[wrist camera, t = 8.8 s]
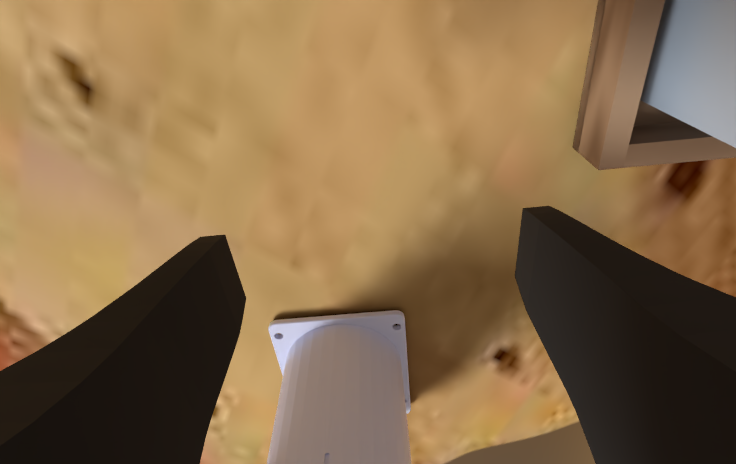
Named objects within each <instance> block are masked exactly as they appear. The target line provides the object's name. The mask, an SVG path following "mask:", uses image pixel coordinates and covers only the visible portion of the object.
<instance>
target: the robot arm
mask: <svg viewBox="0 0 736 464" xmlns="http://www.w3.org/2000/svg"><path fill="white" fill-rule="evenodd" d="M515 278H516V281H517V284H518V287H519V290H520V294H521V297H522V299H523V302H524V305H525V308H526V311H527V313H528V315H529V317H530V319H531V321H532V323H533V325H534V327H535V329H536V331H537V333H538V335H539V337H540V339H541V341H542V343H543V345H544V347H545V349H546V351H547V353H548V355H549V357H550V359H551V361H552V363H553V365H554V367H555V369H556V371H557V373H558V375H559V377H560V379H561V381H562V383H563V385H564V387H565V389H566V391H567V393H568V395H569V397H570V399H571V401H572V404H573V406H574V408H575V410H576V413H577V415H578V418H579V421H580V423H581V426H582V428H583V431H584V434H585V436H586V439H587V441H588V444H589V447H590V449H591V452H592V455H593V457H594V460H595V463H596V464H736V297H733V296H731V295H728V294H726V293H723V292H721V291H719V290H716V289H714V288H711V287H709V286H706V285H704V284H701V283H699V282H697V281H694V280H692V279H690V278H687V277H685V276H683V275H681V274H678V273H676V272H674V271H672V270H670V269H668V268H666V267H664V266H662V265H660V264H658V263H655V262H653V261H651V260H649V259H647V258H645V257H643V256H641V255H639V254H637V253H635V252H634V251H632V250H630V249H628V248H626V247H624V246H622V245H620V244H618V243H617V242H615V241H613V240H611V239H609V238H607V237H606V236H604V235H602V234H600V233H599V232H597V231H595V230H593V229H591V228H590V227H588V226H586V225H584V224H583V223H581V222H579V221H577V220H575V219H574V218H572V217H570V216H568V215H566V214H564V213H563V212H561V211H559V210H557V209H555V208H552V207H550V206H543V207H532V208H523V212H522V220H521V228H520V237H519V245H518V254H517V262H516V271H515ZM245 302H246V296H245V293H244V290H243V287H242V284H241V281H240V278H239V275H238V272H237V269H236V266H235V263H234V260H233V257H232V254H231V251H230V248H229V245H228V242H227V239H226V236H225V235H216V236H205V237H200V238H198V239H197V240H195V241H193V242H192V243H190V244H189V245H188V246H186V247H185V248H184V249H182V250H181V251H180V252H178V253H177V254H176V255H174V256H173V257H172V258H171V259H169V260H168V261H167V262H165V263H164V264H163V265H162V266H160V267H159V268H158V269H156V270H155V271H154V272H152V273H151V274H150V275H149V276H147V277H146V278H145V279H143V280H142V281H141V282H140V283H138V284H137V285H136V286H134V287H133V288H132V289H130V290H129V291H127V292H126V293H125V294H123V295H122V296H120V297H119V298H118V299H116V300H115V301H113V302H112V303H111V304H109V305H108V306H106V307H105V308H104V309H102V310H101V311H99V312H98V313H97V314H95V315H94V316H92V317H91V318H89V319H88V320H86V321H85V322H83V323H82V324H80V325H79V326H77V327H76V328H74V329H73V330H71V331H70V332H68V333H66V334H65V335H63V336H61V337H60V338H58V339H56V340H55V341H53V342H51V343H50V344H48V345H47V346H45V347H43V348H42V349H40V350H38V351H36V352H35V353H33V354H31V355H29V356H28V357H26V358H24V359H22V360H20V361H18V362H16V363H15V364H13V365H11V366H9V367H7V368H5V369H3V370H2V371H0V464H200V459H201V455H202V451H203V446H204V442H205V438H206V434H207V431H208V427H209V424H210V420H211V417H212V414H213V411H214V408H215V405H216V402H217V399H218V397H219V394H220V391H221V388H222V385H223V382H224V379H225V376H226V373H227V370H228V367H229V364H230V361H231V358H232V355H233V352H234V349H235V346H236V343H237V340H238V337H239V334H240V329H241V324H242V319H243V314H244V308H245ZM394 324H399V325H394ZM269 333H270V336H271V340H272V343H273V346H274V349H275V352H276V356H277V359H278V362H279V365H280V368H281V372H282V375H283V379H282V385H281V390H280V395H279V401H278V406H277V411H276V417H275V422H274V427H273V433H272V438H271V443H270V449H269V454H268V459H267V464H411V454H410V444H409V434H408V424H407V413H409V412H410V410H411V405H410V390H409V375H408V359H407V344H406V329H405V317H404V313H403V312H401V311H399V310H392V311H380V312H367V313H355V314H342V315H330V316H317V317H305V318H293V319H280V320H273V321H272V322H270V324H269ZM277 333H280V334H277Z"/></svg>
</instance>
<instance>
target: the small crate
mask: <svg viewBox="0 0 736 464" xmlns="http://www.w3.org/2000/svg"><path fill="white" fill-rule="evenodd" d="M640 100H641V101H643V102H645V103H647V104H649V105H651V106H653V107H655V108H657V109H659V110H661V111H663V112H665V113H667V114H669V115H671V116H673V117H675V118H677V119H679V120H681V121H683V122H685V123H687V124H689V125H691V126H693V127H695V128H697V129H699V130H701V131H703V132H705V133H707V134H709V135H711V136H713V137H715V138H717V139H719V140H721V141H723V142H725V143H727V144H729V145H731V146H733V147H735V148H736V0H665V3H664V7H663V11H662V15H661V19H660V23H659V27H658V31H657V35H656V39H655V43H654V47H653V51H652V54H651V58H650V62H649V66H648V70H647V74H646V78H645V82H644V86H643V90H642V94H641V99H640Z"/></svg>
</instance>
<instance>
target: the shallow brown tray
mask: <svg viewBox="0 0 736 464" xmlns="http://www.w3.org/2000/svg"><path fill="white" fill-rule="evenodd" d="M664 3H665V0H599V1H598V6H597V12H596V18H595V23H594V29H593V35H592V40H591V46H590V52H589V58H588V63H587V69H586V75H585V80H584V86H583V92H582V97H581V103H580V109H579V114H578V120H577V126H576V131H575V137H574V143H573V148H574V149H575V150H576V151H577V152H578V153H580V154H581V155H582V156H583V157H584V158H585V159H586V160H587V161H589V162H590V163H591V164H592V165H593V166H594V167H595V168H597V169H598V170H604V169H615V168H626V167H637V166H648V165H659V164H670V163H681V162H692V161H702V160H713V159H724V158H735V157H736V148H735V147H733V146H731V145H729V144H727V143H725V142H723V141H721V140H719V139H717V138H715V137H713V136H711V135H709V134H707V133H705V132H703V131H701V130H699V129H697V128H695V127H693V126H691V125H689V124H687V123H685V122H683V121H681V120H679V119H677V118H675V117H673V116H671V115H669V114H667V113H665V112H663V111H661V110H659V109H657V108H655V107H653V106H651V105H649V104H647V103H645V102H643V101H641V100H640V99H641V94H642V90H643V86H644V82H645V78H646V74H647V70H648V66H649V62H650V58H651V54H652V51H653V47H654V43H655V39H656V35H657V31H658V27H659V23H660V19H661V15H662V11H663V7H664Z"/></svg>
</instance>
